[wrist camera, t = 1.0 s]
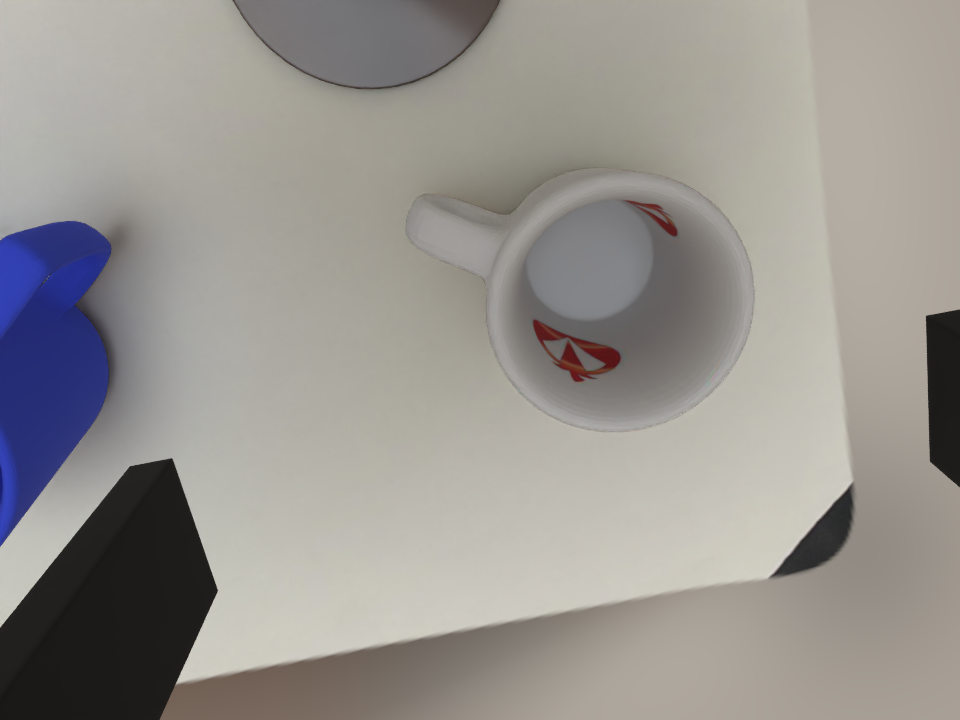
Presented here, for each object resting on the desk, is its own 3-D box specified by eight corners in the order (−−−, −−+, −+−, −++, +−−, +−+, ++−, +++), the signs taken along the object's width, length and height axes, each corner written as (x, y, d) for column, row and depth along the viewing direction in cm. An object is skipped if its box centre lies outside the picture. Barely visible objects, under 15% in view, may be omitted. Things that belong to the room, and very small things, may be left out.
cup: (382, 290, 34) (359, 358, 26) (451, 85, 31) (448, 95, 24) (640, 379, 35) (689, 468, 27) (725, 189, 33) (804, 230, 25)
